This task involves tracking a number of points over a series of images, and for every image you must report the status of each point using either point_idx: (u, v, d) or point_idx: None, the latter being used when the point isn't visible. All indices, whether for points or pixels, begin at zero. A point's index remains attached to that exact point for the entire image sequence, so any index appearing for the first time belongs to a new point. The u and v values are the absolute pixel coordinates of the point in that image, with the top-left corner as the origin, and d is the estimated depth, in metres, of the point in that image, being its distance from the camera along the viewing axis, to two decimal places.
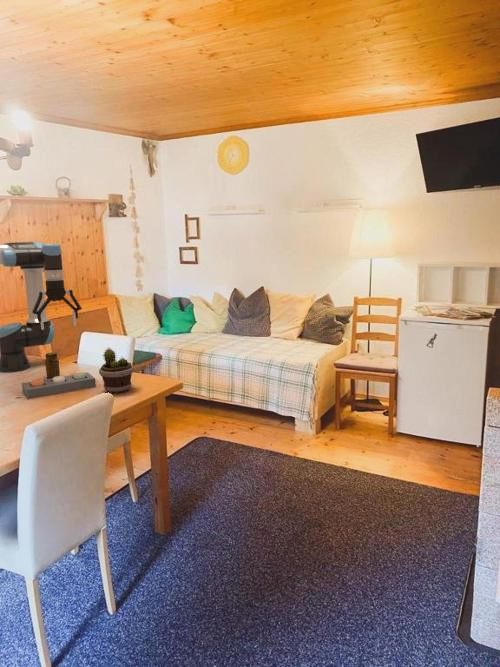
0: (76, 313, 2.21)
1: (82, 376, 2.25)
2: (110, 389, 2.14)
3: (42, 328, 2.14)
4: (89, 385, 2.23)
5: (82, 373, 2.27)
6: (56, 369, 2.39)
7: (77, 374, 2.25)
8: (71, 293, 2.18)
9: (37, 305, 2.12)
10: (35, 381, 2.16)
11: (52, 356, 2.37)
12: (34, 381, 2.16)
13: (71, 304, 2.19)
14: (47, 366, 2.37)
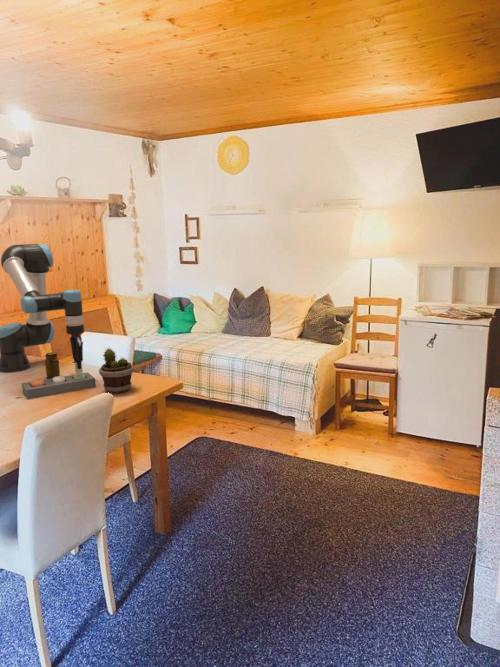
0: (77, 364, 2.23)
1: (82, 377, 2.25)
2: (110, 389, 2.14)
3: None
4: (89, 385, 2.23)
5: None
6: (56, 369, 2.39)
7: None
8: (76, 345, 2.18)
9: (72, 350, 2.26)
10: (35, 381, 2.16)
11: (52, 356, 2.37)
12: (34, 381, 2.16)
13: (75, 354, 2.22)
14: (47, 366, 2.37)
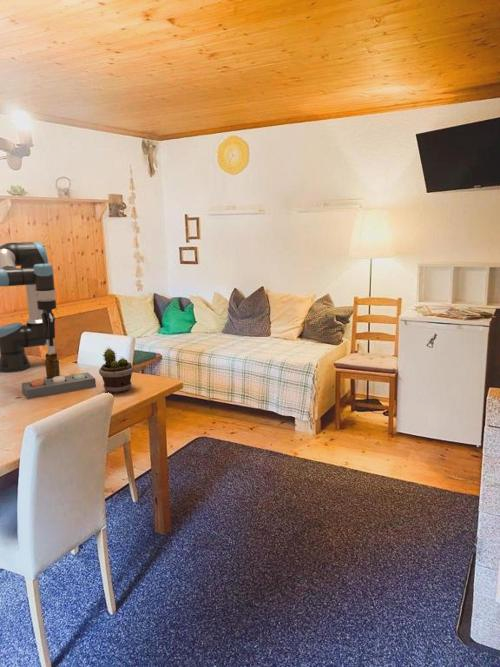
0: (49, 341, 2.15)
1: (82, 377, 2.25)
2: (110, 389, 2.14)
3: None
4: (89, 385, 2.23)
5: (82, 374, 2.27)
6: (56, 369, 2.39)
7: (77, 375, 2.26)
8: (48, 321, 2.10)
9: (44, 327, 2.18)
10: (35, 381, 2.16)
11: (52, 356, 2.37)
12: (34, 381, 2.16)
13: (47, 330, 2.13)
14: (47, 366, 2.37)
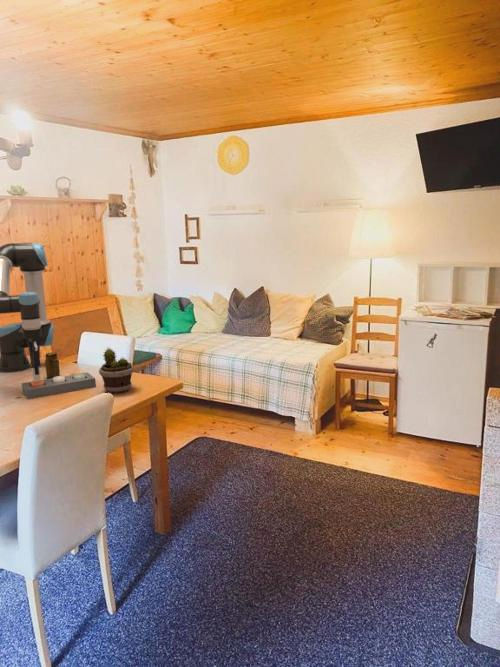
0: (34, 369, 2.13)
1: (82, 377, 2.25)
2: (110, 389, 2.14)
3: None
4: (89, 385, 2.23)
5: (82, 374, 2.27)
6: (56, 369, 2.39)
7: (77, 375, 2.26)
8: (33, 349, 2.08)
9: (30, 355, 2.16)
10: (35, 382, 2.16)
11: (52, 356, 2.37)
12: (34, 382, 2.16)
13: (32, 359, 2.12)
14: (47, 366, 2.37)
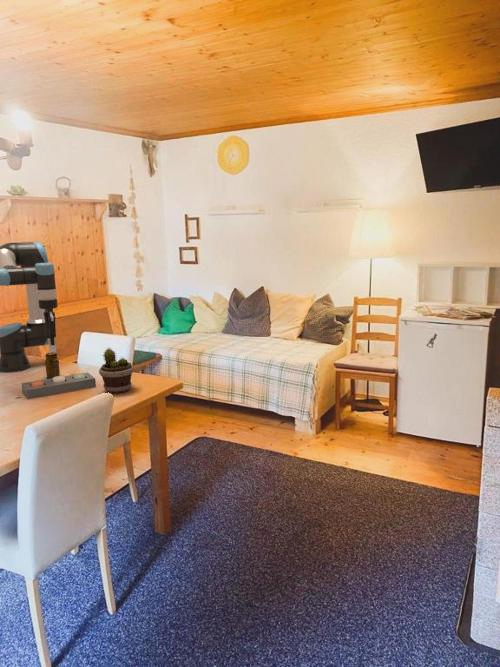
0: (50, 340, 2.15)
1: (82, 377, 2.25)
2: (110, 389, 2.14)
3: (49, 351, 2.17)
4: (89, 385, 2.23)
5: (82, 374, 2.27)
6: (56, 369, 2.39)
7: (77, 375, 2.26)
8: (49, 320, 2.10)
9: (45, 326, 2.18)
10: (35, 383, 2.16)
11: (52, 356, 2.37)
12: (34, 383, 2.16)
13: (48, 329, 2.14)
14: (47, 366, 2.37)
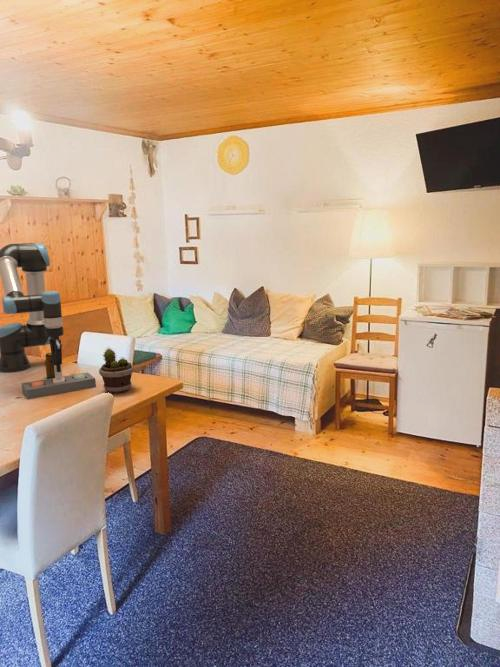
0: (56, 367, 2.18)
1: (82, 377, 2.25)
2: (110, 389, 2.14)
3: (55, 377, 2.21)
4: (89, 385, 2.23)
5: (82, 374, 2.27)
6: None
7: (77, 375, 2.26)
8: (55, 347, 2.13)
9: (51, 353, 2.21)
10: (35, 383, 2.16)
11: None
12: (34, 383, 2.16)
13: (54, 356, 2.17)
14: (47, 366, 2.37)
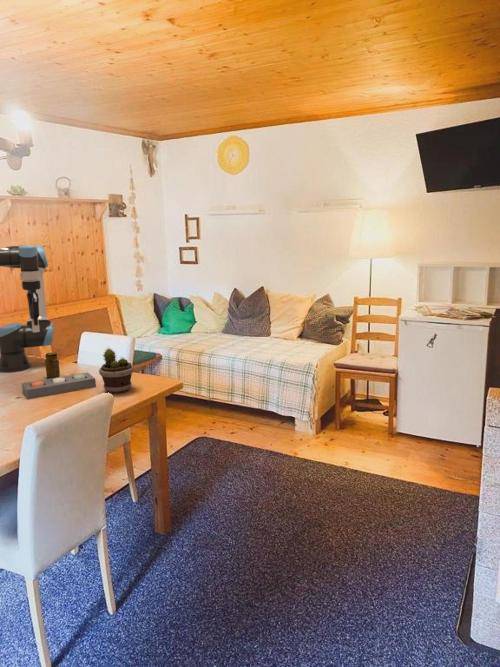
0: (34, 320, 2.23)
1: (82, 377, 2.25)
2: (110, 389, 2.14)
3: (32, 330, 2.25)
4: (89, 385, 2.23)
5: (82, 374, 2.27)
6: (56, 369, 2.39)
7: (77, 375, 2.26)
8: (32, 300, 2.17)
9: (29, 307, 2.26)
10: (35, 383, 2.16)
11: (52, 356, 2.37)
12: (34, 383, 2.16)
13: (31, 310, 2.21)
14: (47, 366, 2.37)
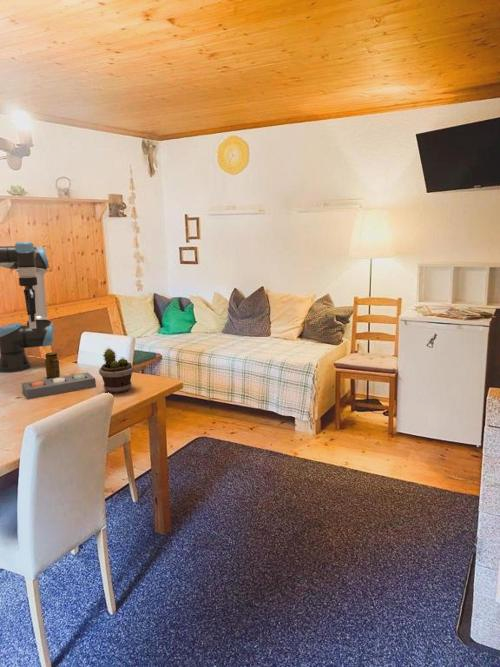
0: (30, 316, 2.23)
1: (82, 377, 2.25)
2: (110, 389, 2.14)
3: (29, 327, 2.25)
4: (89, 385, 2.23)
5: (82, 374, 2.27)
6: (56, 369, 2.39)
7: (77, 375, 2.26)
8: (28, 296, 2.18)
9: (26, 303, 2.26)
10: (35, 383, 2.16)
11: (52, 356, 2.37)
12: (34, 383, 2.16)
13: (28, 306, 2.22)
14: (47, 366, 2.37)
